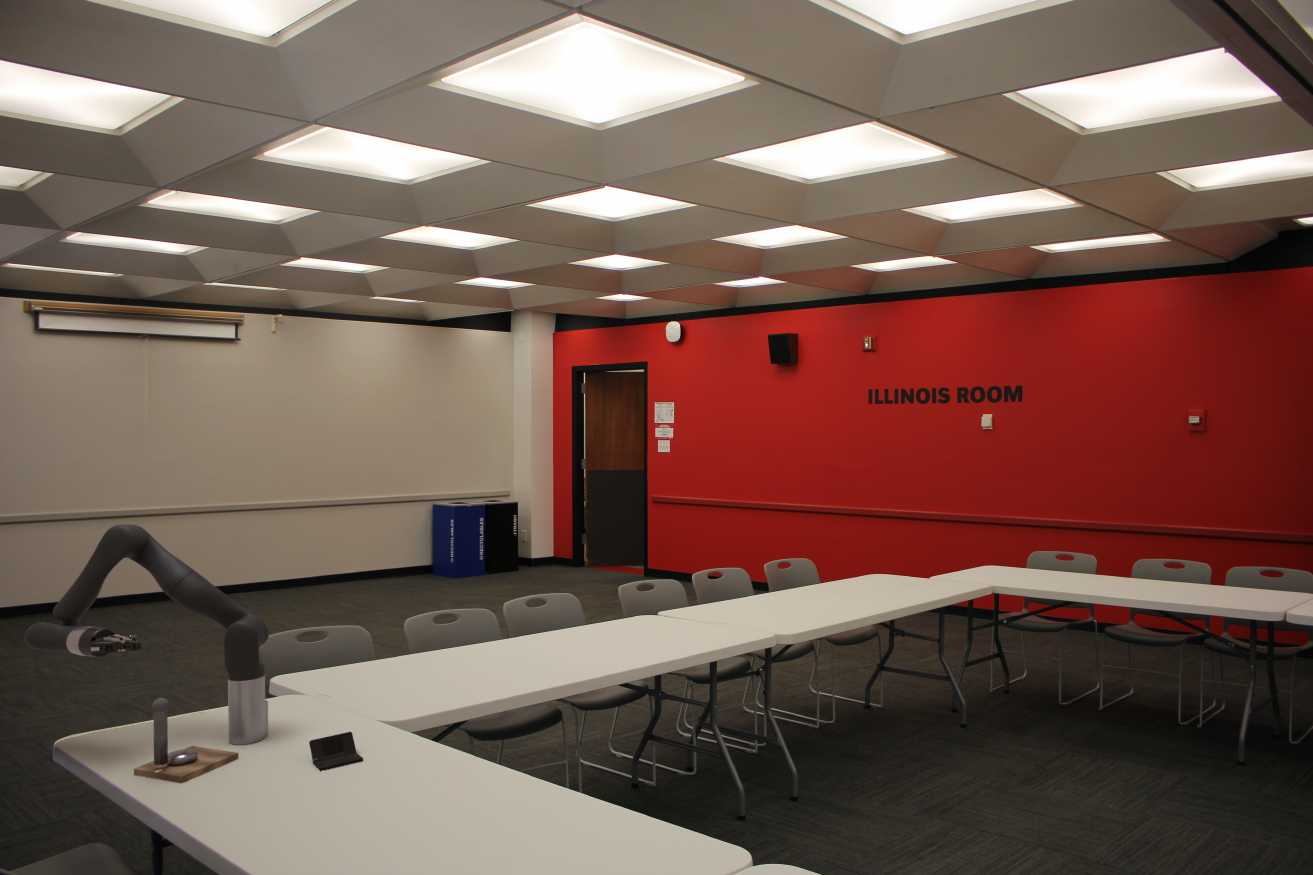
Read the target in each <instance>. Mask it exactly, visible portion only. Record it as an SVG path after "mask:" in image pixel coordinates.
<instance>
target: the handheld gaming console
mask: <svg viewBox="0 0 1313 875" xmlns="http://www.w3.org/2000/svg"><path fill="white" fill-rule="evenodd" d="M308 745H309V749H310V753H311V759H312V765H313V764H314V765H315V766H316V767H315V766H314V765H313V766H314V767H315V768H316V769H317V768H318V769H319V770H320V771H319V770H318V769H317V770H318V771H319V772H323V771H322V770H324V771H327V769H328V770H331V768H332V769H336V768H340V766H341V767H345V766H349V765H353V764H357V763H361V762H364V757H362V755H360V754H359V753H357V748H356V744H355V739H354V735H353V732H352V731H347V732H343V733H339V734H332V735H329V736H325V737H320V738H316V739H311V740H309V742H308ZM344 765H345V766H344Z"/></svg>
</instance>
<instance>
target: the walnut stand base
mask: <svg viewBox="0 0 1313 875" xmlns="http://www.w3.org/2000/svg"><path fill="white" fill-rule="evenodd" d="M184 749H196V750H197V751H198V758H197V759H196V760H194V761H192V762H189V763H185V764H178V765H170V764H166V765H164V766H163V765H154V760H152V761H150V762H148V763H145V764H142V765H138V766H137V767H134V768H133V776H138V777H144V776H145V777H144V778H150V777H151V779H157V780H162V781H167V780H168V782H174V783H180V784H182V783H185V782H188V781H189V780H192V779H194V778H196V776H197V777H199V776H201V775H204V774H206V773H208V772H210V771H213V770H215V769H218V768H219V767H222V766H224V764H225V765H226V764H229V763H231V762H233V761H236V760H238V759H239V752H235V751H229V750H223V749H218V748H217V749H216V748H210V747H203V746H197V745H191V746H188V747H185V748H184Z"/></svg>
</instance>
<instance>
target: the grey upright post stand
mask: <svg viewBox="0 0 1313 875" xmlns="http://www.w3.org/2000/svg"><path fill="white" fill-rule="evenodd" d="M169 706H170V704H169V700H168V699H167V698H164V697H158V698H156V699H155V700H154V701H152V705H151V709H152V712H153V715H152V716H153V761H154V765H163V766H164V765H166V764H170V765H178V764H185V763H189V762H192V761H194V760H196V759H197V758H198V751H197V750H196V749H185V748H182V749H178V750H173V751H171V752H169V747H168V746H169V745H168V743H169V742H168V741H169V738H168V737H169V736H168V733H169V731H168V729H169V727H168V718H169V717H168V708H169Z"/></svg>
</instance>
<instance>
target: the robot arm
mask: <svg viewBox="0 0 1313 875" xmlns="http://www.w3.org/2000/svg"><path fill="white" fill-rule="evenodd" d="M123 559H129V560H131V561H133V562H135V563H137V564H138V565H139V566H141V567H142V568H143V569H145V570H146V571H147V572H149V573H150V574H151V576H152V577H153V578H154V581H155V582H156V583H157V584H158V586H159V588H160V589H161V591H163V593H164V594H165V595H166V596H168V597H169V599H171V600H172V601H174V602H175V603H176V604H178V605H179V606H180V607H182V608H183V609H185V610H187V611H189V612H190V613H191V612H192V613H195V614H196V615H199V616H202V617H204V618H207V619H209V620H212V621H214V622H216V623H217V624H219V625H220V626H222V627H223V628H224V629H225V631H224V636H223V656H224V667H225V670H226V672H227V694H228V696H227V699H228V703H227V704H228V715H227V717H228V721H227V722H228V743H229V744H231V745H249V744H252V743H253V744H254V743H257V742H259V741H261V740H264V739H265V738H266V736H269V701H268V700H266V668H265V665H264V664H263V663H262V662H261V661H260V653H259V650H260V649H259V648H260V647H262V646H263V645H265V643H267V641H268V640H269V637H270V630H269V626H268V625H267V623H266V622H265V621H264V620H263V619H262V618H261V617H260V616H259V615H257V614H255V613H253V612H251V611H250V610H248V609H246V607H244V606H241V605H240V604H239V603H237V602H235V600H233V599H232V598H231V597H229V596H228V595H227V594H226V593H224V592H223V591H222V590H220V589H219V588H218V587H217V586H215V585H213V583H212V582H210V581H209V580H208V579H207V578H205V576H202V575H201V574H200V573H199V572H198V571H196V570H195V569H193V568H192V567H190V566H189V565H188V564H187V563H185V562H184V561H183V560H181V559H180V558H178V557H177V556H175V555H174V554H172V553H171V552H170V551H169V550H167V549H166V548H165V547H164V546H162V545H161V543H160V542H159V541H157V540H156V538H155V537H153V536H152V535H151V534H150V532H148V531H147V530H146V529H145V528H143V527H142V526H139V525H136V524H133V523H131V524H127V523H126V524H116V525H113V526H110V527H109V529H107V530H106V531H105V533H104V534H103V535H102V537H101V539H100V540H99V542H98V544H97V546H96V547H95V549H94V551H93V552H92V555H91V556H90V558H89V560H88V561H87V563H86V565H84V568H83V569H82V571H81V572H80V574H79V575H78V576H77V578H76V579H75V581H74V582H73V584H72V585H71V586H70V587H69V588H68V590H67V591H66V592H65V593H64V595H63V596H62V597H61V599H60V600H59V601H58V602H57V604H56V605H55V606H54V608H53V609H52V614H53V616H54V617H55V618H56V619H58V621H59V620H60V623H59V624H56V623H52V622H51V623H50V622H44V621H40V622H35V623H34V624H32V625H31V626H29V627H28V628H27V630H26V631H25V633H24V642H25V644H26V645H27V646H28V647H29V648H31V649H34V650H39V651H40V650H41V651H46V652H50V653H59V652H61V653H66V654H74V655H78V656H84V657H91V658H103V657H106V656H108V655H110V654H111V653H114V654H116V653H119V652H125V651H129V652H130V651H131V652H136V651H140V650H142V642H141V641H140V640H138V639H137V634H136V633H133V634H131V635H129V636H128V637H127V636H124V635H120V634H116V633H115V631H113V630H112V629H110V628H107V627H99V626H79V624H80V622H81V619H82V618H83V617H84V615H85V614H87V612H88V611H89V609H90V608H91V607H92V606H93V604H94V603H95V601H96V600H97V598H98V597H99V594H100V592H101V590H102V587H103V585H104V583H105V581H106V579H107V577H108V575H109V574H110V573H111V572H112V570H113V569H114V568H115V567H116V566H117V565H118V564H119V563H120V562H121V561H123Z"/></svg>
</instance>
